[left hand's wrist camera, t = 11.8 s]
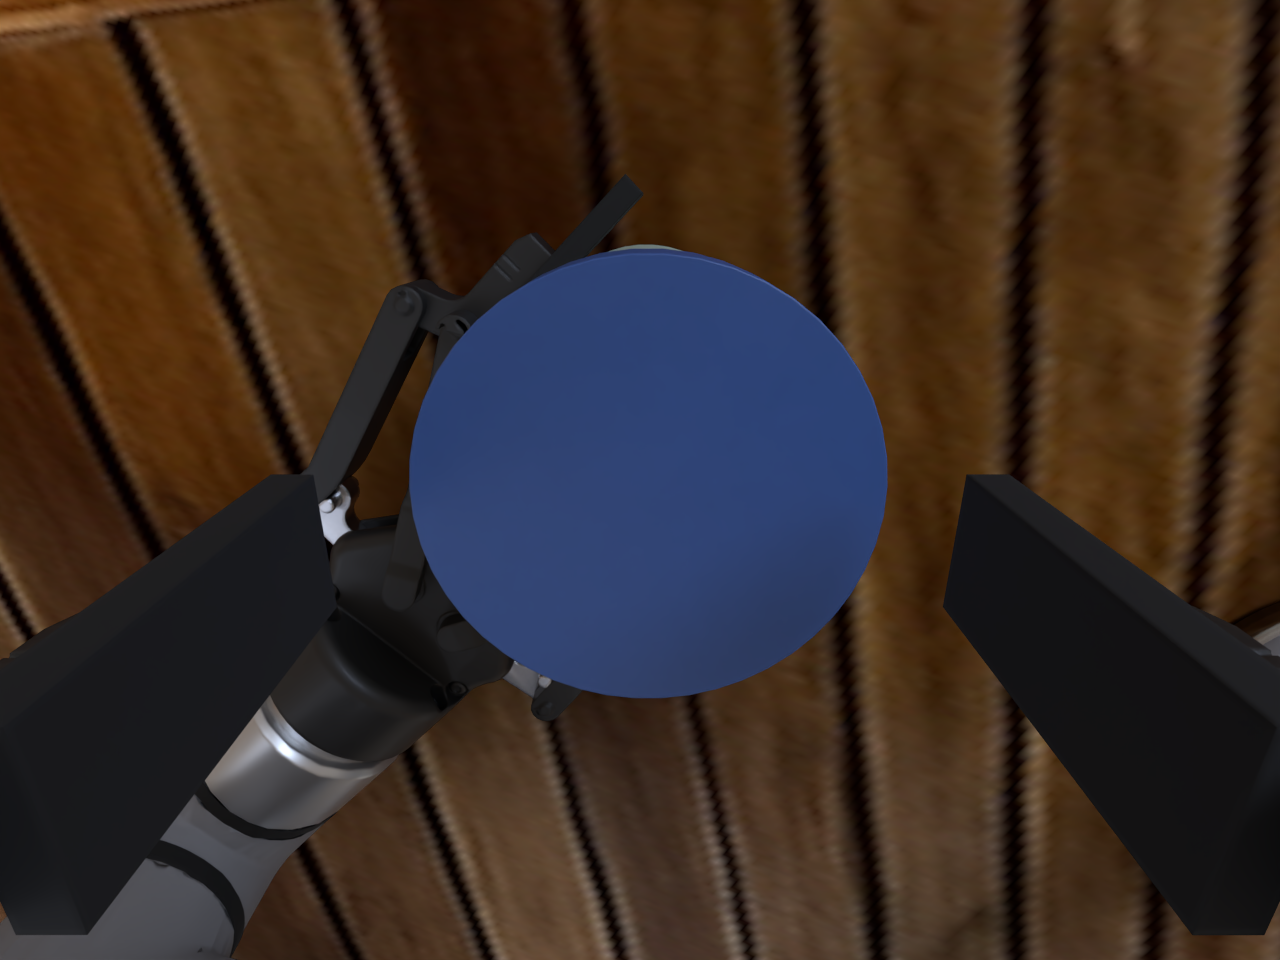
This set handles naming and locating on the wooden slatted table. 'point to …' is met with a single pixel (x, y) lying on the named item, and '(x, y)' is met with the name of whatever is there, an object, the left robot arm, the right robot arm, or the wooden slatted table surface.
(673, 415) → the lid
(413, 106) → the wooden slatted table surface
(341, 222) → the wooden slatted table surface
